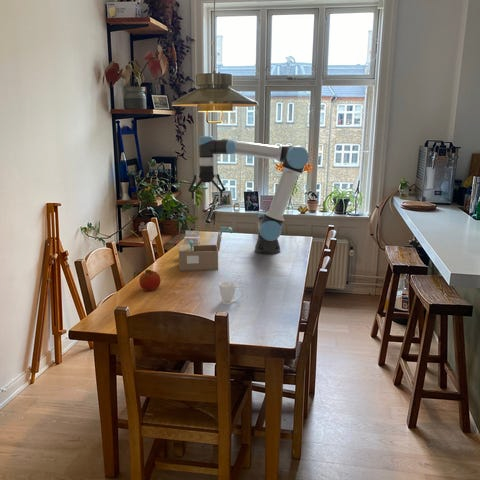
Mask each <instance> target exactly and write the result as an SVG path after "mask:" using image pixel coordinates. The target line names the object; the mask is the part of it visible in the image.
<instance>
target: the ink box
mask: <svg viewBox="0 0 480 480" xmlns="http://www.w3.org/2000/svg"><path fill="white" fill-rule="evenodd" d="M190 240H193V245H201V241H200V240H201V239H200V231H199V230H185V235H184V237H183V245H186V244H190Z"/></svg>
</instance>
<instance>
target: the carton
mask: <svg viewBox="0 0 480 480" xmlns="http://www.w3.org/2000/svg"><path fill="white" fill-rule="evenodd" d="M193 247H194V252H179V251H178V264H179V265H178V266H179V272H192V271H193V272H194V271H197V272H198V271H200V272H201V271H218V270H219V251H218V249H217V245H216V244H200V245H193Z"/></svg>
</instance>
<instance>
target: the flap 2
mask: <svg viewBox="0 0 480 480" xmlns="http://www.w3.org/2000/svg"><path fill="white" fill-rule="evenodd" d="M223 232H225V233H230V234H233V233H234V231H233V228H232V227H231V226H229V227H226V226H225V227H224V226H219V231H217V240H216V244H215V245H216V246H217V249H218V252H220V248H221V243H222V233H223Z"/></svg>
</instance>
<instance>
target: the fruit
mask: <svg viewBox="0 0 480 480" xmlns="http://www.w3.org/2000/svg"><path fill="white" fill-rule="evenodd" d="M138 281H139V286H140V288H141V289H142V290H144V291H147V292H154V291H155V290H157V289H158V288H160V285H161V277H160V275H159V273H158V272H157V271H154V270H152V269H146V270H145V271H144V272H143V273H142V274H141V275H140V277H139V280H138Z"/></svg>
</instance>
